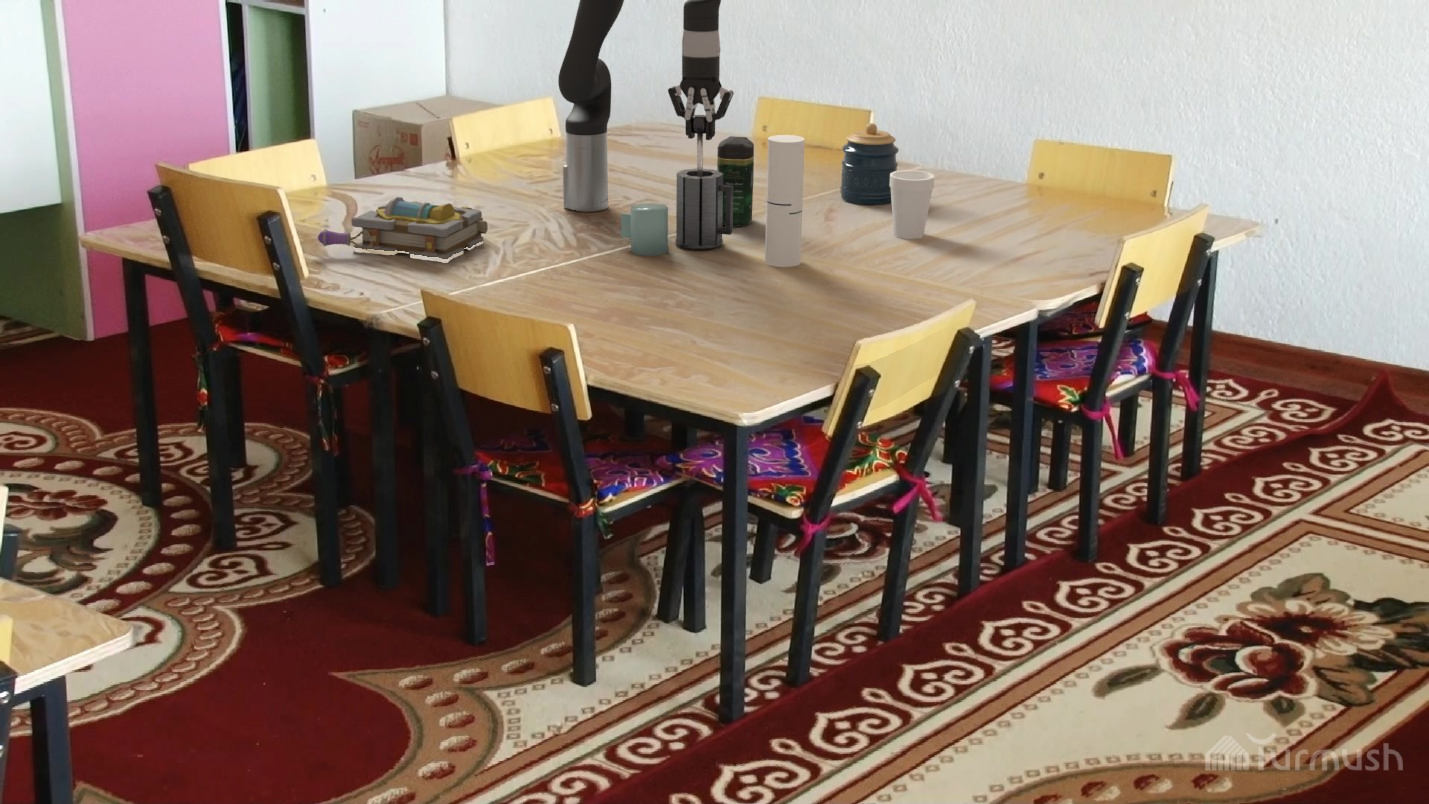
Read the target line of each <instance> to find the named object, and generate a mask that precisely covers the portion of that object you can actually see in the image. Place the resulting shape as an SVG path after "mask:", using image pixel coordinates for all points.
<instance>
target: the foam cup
mask: <svg viewBox="0 0 1429 804" xmlns="http://www.w3.org/2000/svg"><path fill="white" fill-rule="evenodd" d="M889 187H890V188H891V201H892V202H891V212H892V224H893V225H892V226H893V227H892V228H893V235H894V236H895V237H896V238H901V239H904V240H905V239H908V240H914V239H915V240H917V239H922V238H923V237H924V234H925V229H926V225H927V219H928V215H929V209H930V204H931V198H932V194H933V189H934V187H935V175H934V173H931V172H928V171H922V170H916V169H915V170H914V169H913V170H911V169H910V170H909V169H908V170H907V169H905V170H897V171H894V172H892V173H890V186H889Z"/></svg>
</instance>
